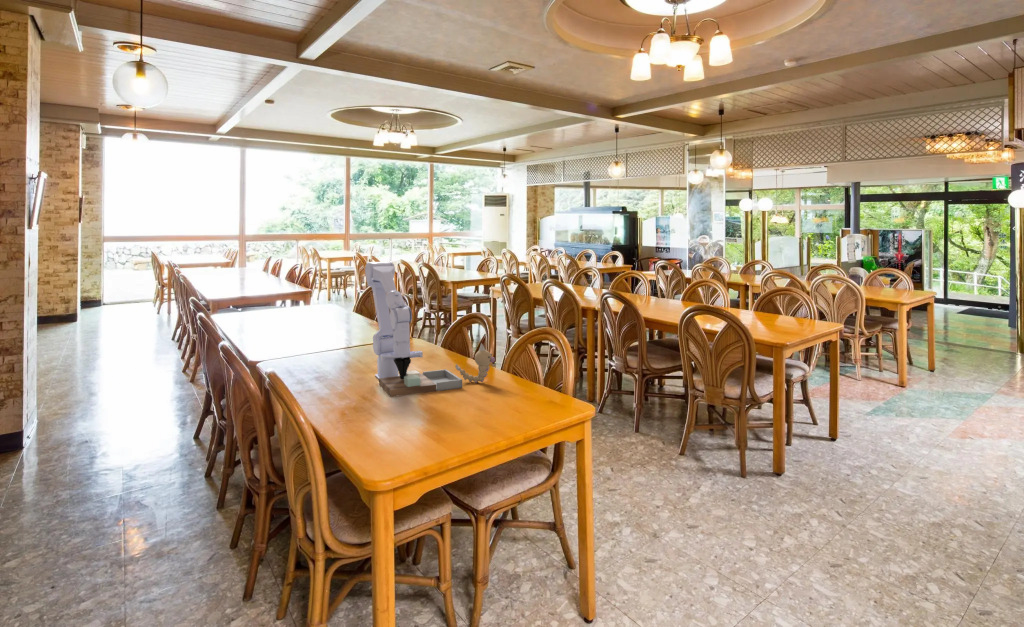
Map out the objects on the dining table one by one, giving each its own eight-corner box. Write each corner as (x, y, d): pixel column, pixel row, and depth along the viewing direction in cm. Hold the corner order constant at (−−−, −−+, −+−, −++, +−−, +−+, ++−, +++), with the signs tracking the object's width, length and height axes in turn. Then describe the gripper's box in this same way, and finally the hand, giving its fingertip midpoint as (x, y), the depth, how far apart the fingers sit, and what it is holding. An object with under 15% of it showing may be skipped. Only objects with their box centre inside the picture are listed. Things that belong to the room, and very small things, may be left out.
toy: (492, 385, 210) (492, 344, 208) (453, 383, 213) (452, 343, 211) (496, 381, 216) (496, 341, 214) (458, 379, 219) (457, 339, 217)
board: (379, 384, 211) (378, 378, 211) (421, 379, 218) (421, 373, 218) (390, 396, 196) (390, 390, 196) (436, 391, 203) (436, 384, 202)
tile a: (404, 378, 210) (404, 371, 210) (416, 377, 212) (416, 370, 212) (407, 381, 206) (407, 374, 206) (420, 380, 208) (419, 373, 208)
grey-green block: (404, 383, 203) (404, 376, 203) (416, 382, 205) (416, 375, 205) (407, 386, 199) (407, 379, 199) (420, 385, 201) (420, 378, 201)
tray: (423, 379, 218) (422, 371, 218) (446, 376, 222) (446, 369, 222) (437, 391, 203) (437, 382, 202) (462, 388, 207) (462, 379, 206)
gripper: (383, 344, 199) (384, 383, 201) (424, 341, 205) (425, 379, 207) (379, 341, 205) (380, 378, 207) (419, 337, 212) (420, 374, 214)
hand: (402, 378), depth 208 cm, fingers closed
